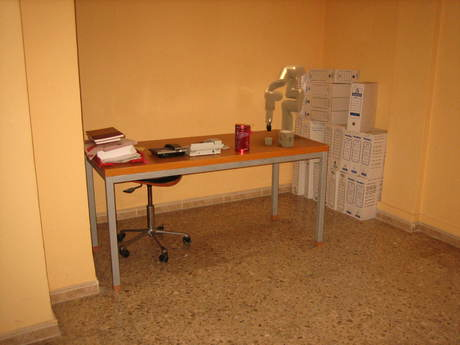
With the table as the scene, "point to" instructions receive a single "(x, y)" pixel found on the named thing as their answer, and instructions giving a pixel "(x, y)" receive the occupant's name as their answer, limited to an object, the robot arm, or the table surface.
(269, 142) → the sage block
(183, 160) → the table surface
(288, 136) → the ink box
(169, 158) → the table surface
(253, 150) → the table surface
